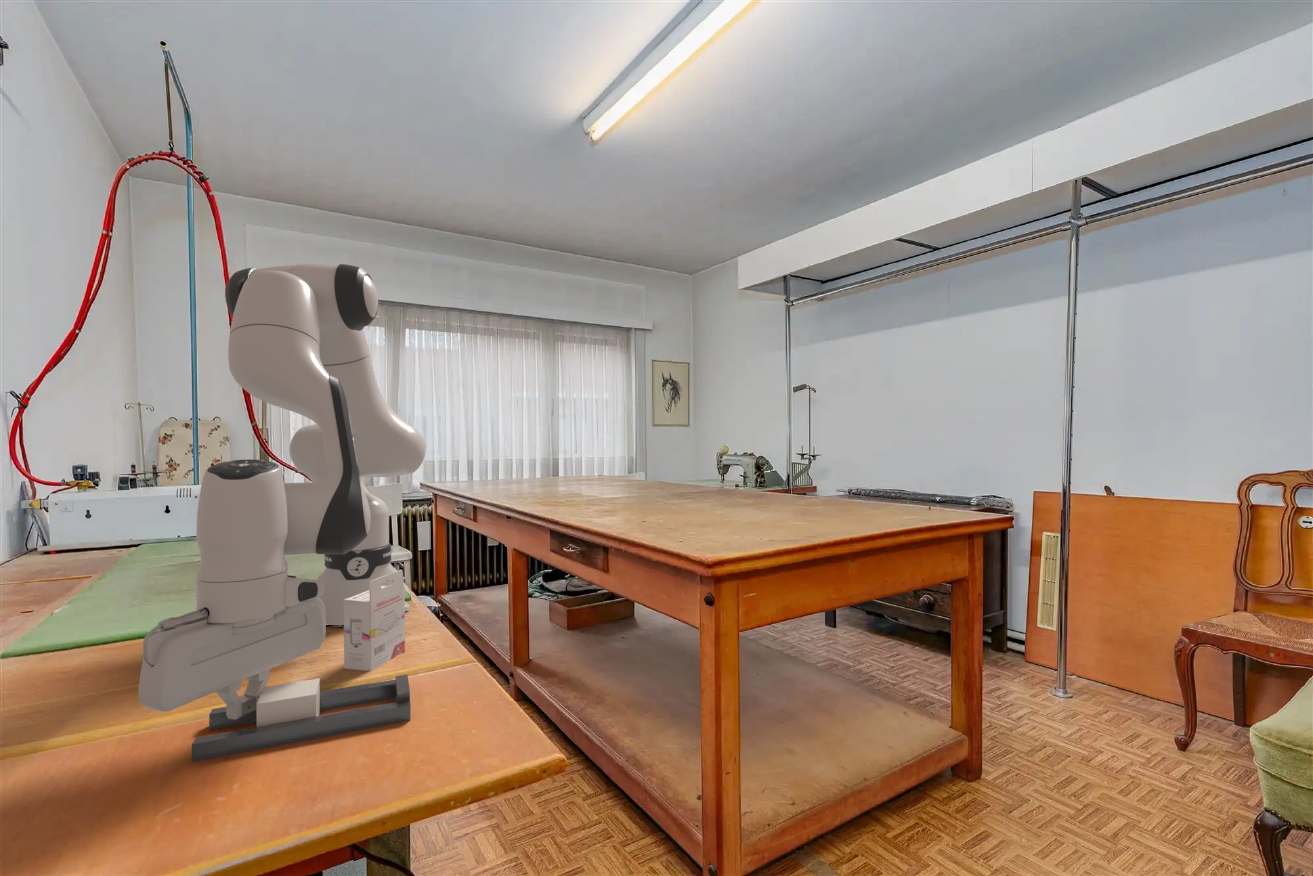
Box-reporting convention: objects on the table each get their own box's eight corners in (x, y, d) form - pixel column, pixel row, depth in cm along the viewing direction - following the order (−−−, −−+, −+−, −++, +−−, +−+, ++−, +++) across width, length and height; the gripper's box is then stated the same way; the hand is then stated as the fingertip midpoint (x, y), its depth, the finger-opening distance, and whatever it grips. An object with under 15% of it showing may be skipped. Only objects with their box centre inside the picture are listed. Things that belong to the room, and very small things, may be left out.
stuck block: (263, 722, 72) (263, 686, 72) (319, 712, 75) (319, 678, 75) (256, 741, 68) (256, 703, 68) (316, 730, 70) (316, 694, 70)
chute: (212, 733, 72) (212, 701, 71) (406, 698, 81) (407, 670, 81) (191, 771, 63) (191, 735, 63) (410, 728, 73) (410, 696, 73)
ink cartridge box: (379, 654, 97) (379, 566, 97) (405, 657, 96) (406, 568, 96) (341, 675, 89) (342, 579, 89) (370, 678, 88) (370, 581, 88)
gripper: (166, 628, 58) (166, 766, 58) (334, 579, 78) (334, 682, 78) (122, 621, 60) (122, 755, 60) (297, 575, 80) (297, 676, 80)
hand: (243, 713), depth 69 cm, fingers closed
